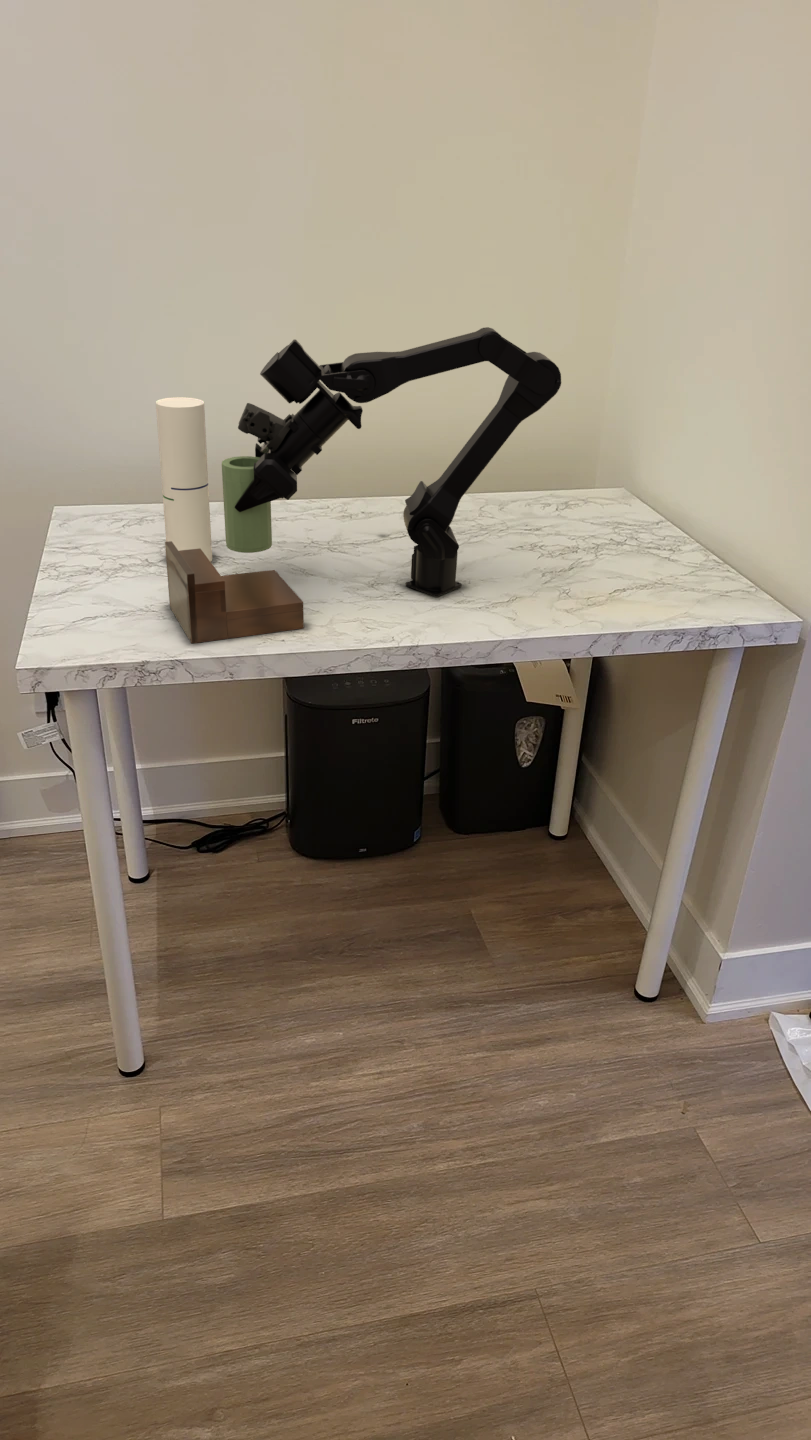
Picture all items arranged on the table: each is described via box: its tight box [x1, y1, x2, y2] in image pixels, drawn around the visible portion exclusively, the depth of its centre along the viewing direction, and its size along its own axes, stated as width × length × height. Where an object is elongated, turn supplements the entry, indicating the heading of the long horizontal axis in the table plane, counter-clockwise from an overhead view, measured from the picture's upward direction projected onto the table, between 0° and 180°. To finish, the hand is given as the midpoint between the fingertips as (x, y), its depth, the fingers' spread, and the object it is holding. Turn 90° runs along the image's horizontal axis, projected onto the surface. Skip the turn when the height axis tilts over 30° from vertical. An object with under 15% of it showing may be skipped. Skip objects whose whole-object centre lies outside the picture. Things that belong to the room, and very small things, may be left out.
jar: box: [221, 455, 273, 554], centre depth 152 cm, size 7×7×12 cm
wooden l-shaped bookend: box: [164, 541, 305, 644], centre depth 146 cm, size 16×13×10 cm
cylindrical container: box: [155, 396, 213, 563], centre depth 162 cm, size 7×7×25 cm
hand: (237, 502), depth 152 cm, fingers closed on jar, 7 cm apart
